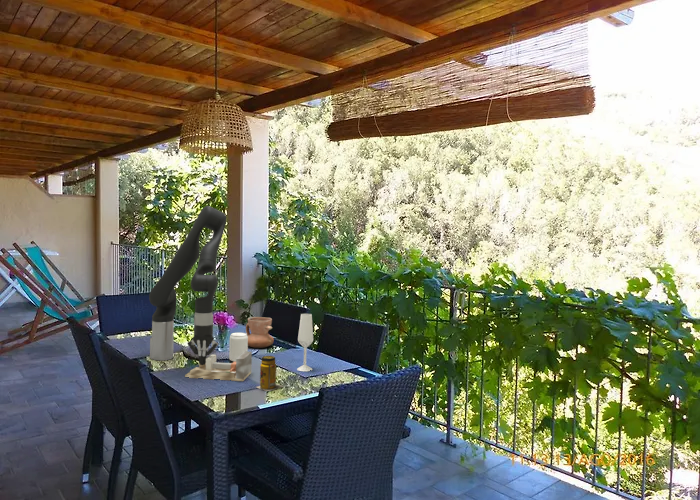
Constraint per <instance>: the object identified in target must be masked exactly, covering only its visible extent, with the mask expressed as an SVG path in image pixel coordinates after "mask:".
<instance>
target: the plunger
mask: <svg viewBox="0 0 700 500" xmlns="http://www.w3.org/2000/svg"><path fill="white" fill-rule="evenodd" d="M232 363H233V362H217V354H209V355H208V356H207V358H206V371H214V370H215V369H231V364H232Z"/></svg>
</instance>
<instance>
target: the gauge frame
mask: <svg viewBox="0 0 700 500" xmlns="http://www.w3.org/2000/svg"><path fill="white" fill-rule="evenodd" d="M252 357H253V351H245V352H243V353H242V354H241V355H240V356H239V357H238V358H237V359H236V372H233V371H232V372H230V370H231V369H215V370H214V371H206V363H205V365H200V364H198V365H199V366H196V367H194V368H193V369H190V370H189V371H188V372H187V373H186V374H184V378H185V377H189V378H188V379H198V378H203V379H202V380H214V379H220V380H219V381H230V380H231V381H232V382H244V381H245V380H246V379H247V378H248V377H249V376H250V375H251V374H252V363H253V362H252V360H253V359H252Z"/></svg>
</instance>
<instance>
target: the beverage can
mask: <svg viewBox="0 0 700 500" xmlns="http://www.w3.org/2000/svg"><path fill="white" fill-rule="evenodd" d="M228 347H229V351H228V352H229V355H228V360H229V361H231V362H232V363H233V362H236V359H237V358H238V357H239V356H240V355H241V354H242V353H243V352H245V351H248V348H249V346H248V336H247V333H246V332H233V333H231V334H230V336H229V346H228ZM248 352H249V351H248Z"/></svg>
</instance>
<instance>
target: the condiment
mask: <svg viewBox="0 0 700 500" xmlns="http://www.w3.org/2000/svg"><path fill="white" fill-rule="evenodd" d="M259 368H260V373H259V374H260V375H259V379H260V380H259V386H256V388H257V389H259V390H261V391H262V390H263V391H265V392H270V391H274V390H277V389H280V388H283V387H284V385H280V384H277V363H276V357H275V356H273V355H264V356H262V357H261V363H260V367H259Z"/></svg>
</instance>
